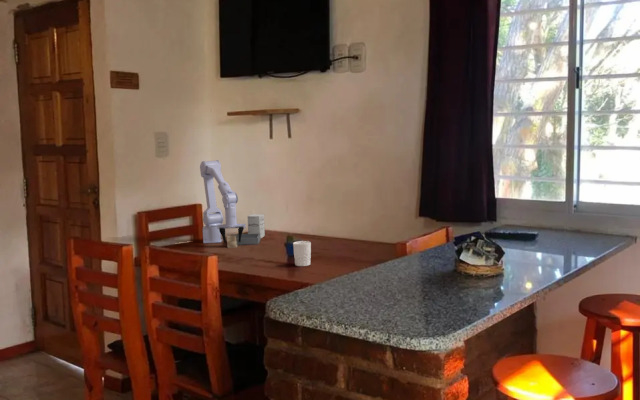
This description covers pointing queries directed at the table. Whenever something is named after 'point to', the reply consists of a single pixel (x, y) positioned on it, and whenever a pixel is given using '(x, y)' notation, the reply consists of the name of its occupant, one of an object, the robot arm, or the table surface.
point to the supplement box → (256, 224)
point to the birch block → (232, 241)
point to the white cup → (302, 253)
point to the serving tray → (248, 239)
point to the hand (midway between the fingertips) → (232, 242)
